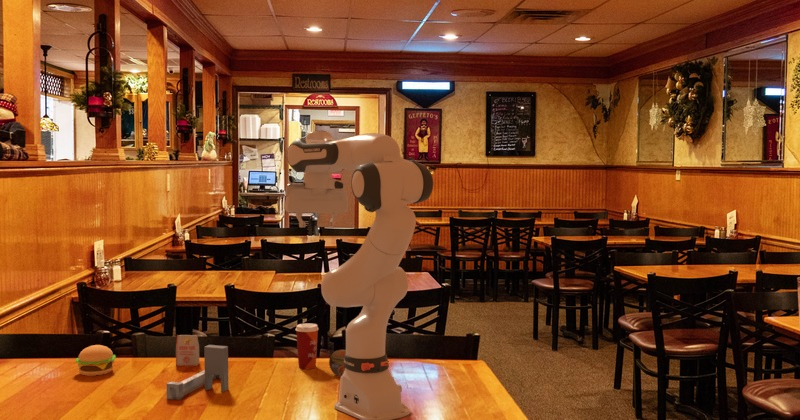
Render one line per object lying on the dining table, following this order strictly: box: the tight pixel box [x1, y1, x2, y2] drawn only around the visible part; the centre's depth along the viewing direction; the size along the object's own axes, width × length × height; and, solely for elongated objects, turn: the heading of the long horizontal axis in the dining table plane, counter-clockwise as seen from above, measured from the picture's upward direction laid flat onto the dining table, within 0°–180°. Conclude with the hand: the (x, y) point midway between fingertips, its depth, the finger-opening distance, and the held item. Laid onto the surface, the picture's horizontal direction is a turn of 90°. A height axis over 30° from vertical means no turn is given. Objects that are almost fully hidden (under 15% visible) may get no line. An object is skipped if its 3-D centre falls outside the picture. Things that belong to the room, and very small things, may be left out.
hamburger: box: [75, 344, 117, 377], centre depth 239 cm, size 12×12×9 cm
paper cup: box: [294, 322, 320, 370], centre depth 246 cm, size 8×8×14 cm
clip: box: [203, 344, 229, 393], centre depth 221 cm, size 6×3×13 cm, turn 73°
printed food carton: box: [175, 334, 200, 367], centre depth 249 cm, size 4×7×10 cm, turn 88°
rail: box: [166, 369, 221, 401], centre depth 223 cm, size 24×4×4 cm, turn 163°
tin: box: [328, 349, 346, 378], centre depth 235 cm, size 15×3×8 cm, turn 62°
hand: (316, 227), depth 233 cm, fingers open, 8 cm apart
